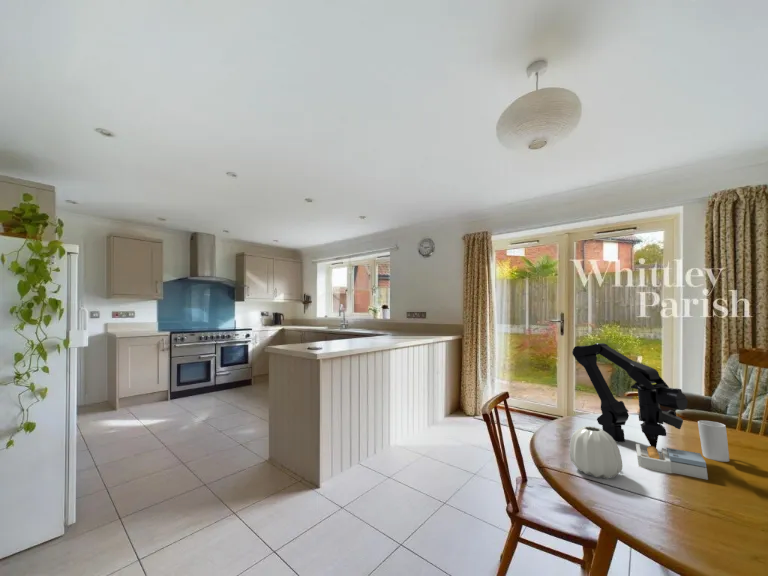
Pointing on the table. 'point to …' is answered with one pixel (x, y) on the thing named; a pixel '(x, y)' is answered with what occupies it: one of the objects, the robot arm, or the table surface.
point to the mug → (713, 440)
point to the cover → (686, 457)
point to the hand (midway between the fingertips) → (654, 448)
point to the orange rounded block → (652, 452)
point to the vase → (595, 452)
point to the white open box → (669, 464)
